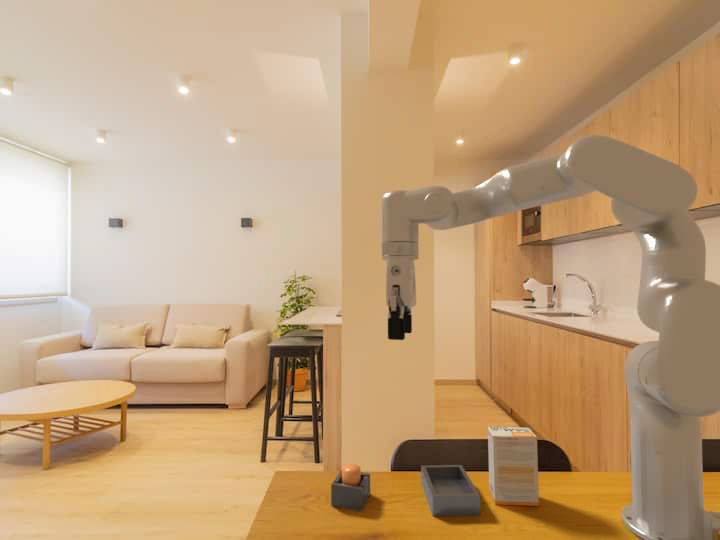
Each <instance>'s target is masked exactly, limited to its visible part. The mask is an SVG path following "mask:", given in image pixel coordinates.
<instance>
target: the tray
mask: <svg viewBox="0 0 720 540" xmlns="http://www.w3.org/2000/svg"><path fill="white" fill-rule="evenodd" d="M420 481H421V482H420V483H421V485H422V489H423V491H424V494H425V497H426V500H427V503H428V506H429V509H430V512H431V515H432V517H451V516H452V517H455V516H457V517H458V516H460V517H462V516H463V517H464V516H481V495H480V493H479V491H478V490H477V488H476V487H475V485H474V483H473V481H472V480H471V477H469V475H468V473H467V471H466V470H465V468H464V467H463V464H444V465H443V464H442V465H440V464H437V465H436V464H435V465H433V464H432V465H429V464H428V465H420Z"/></svg>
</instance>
